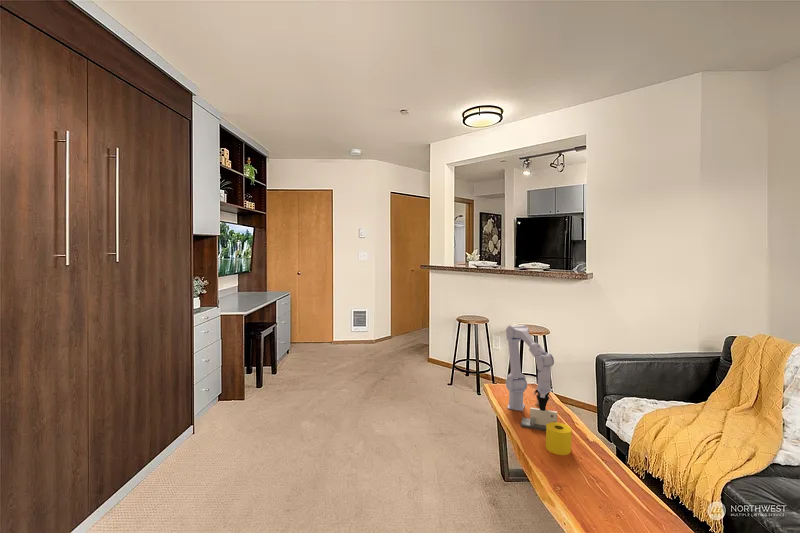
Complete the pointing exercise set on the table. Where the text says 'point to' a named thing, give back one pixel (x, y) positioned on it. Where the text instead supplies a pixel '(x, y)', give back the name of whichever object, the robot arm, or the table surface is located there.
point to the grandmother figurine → (537, 399)
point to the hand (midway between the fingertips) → (543, 407)
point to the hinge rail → (532, 424)
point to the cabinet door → (543, 416)
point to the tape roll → (558, 438)
